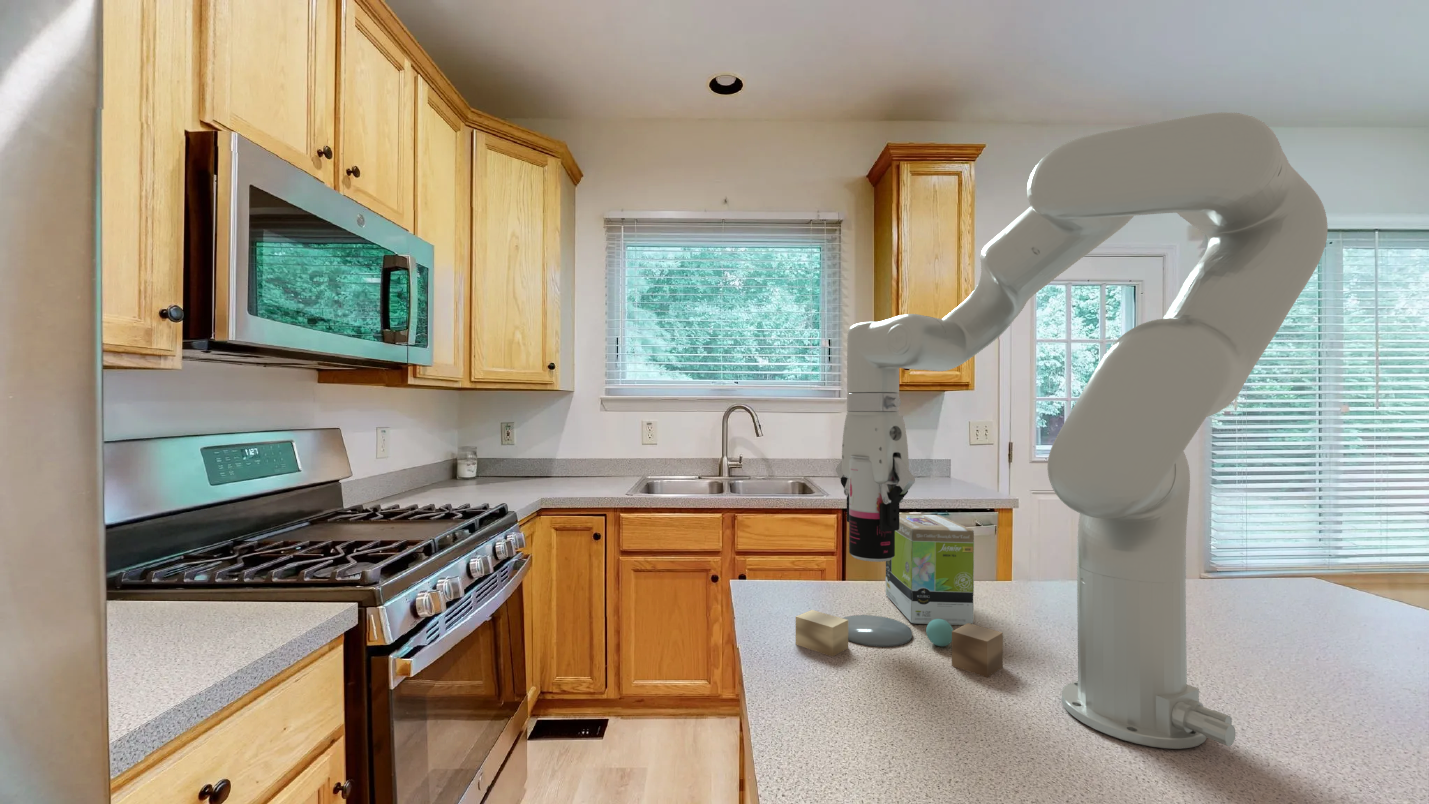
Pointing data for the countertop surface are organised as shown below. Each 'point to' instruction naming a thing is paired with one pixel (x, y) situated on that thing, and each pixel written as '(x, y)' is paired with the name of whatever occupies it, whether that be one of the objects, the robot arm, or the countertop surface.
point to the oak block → (822, 632)
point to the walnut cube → (977, 649)
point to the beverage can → (867, 515)
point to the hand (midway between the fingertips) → (872, 525)
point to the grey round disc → (877, 631)
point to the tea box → (932, 570)
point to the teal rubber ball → (939, 632)
